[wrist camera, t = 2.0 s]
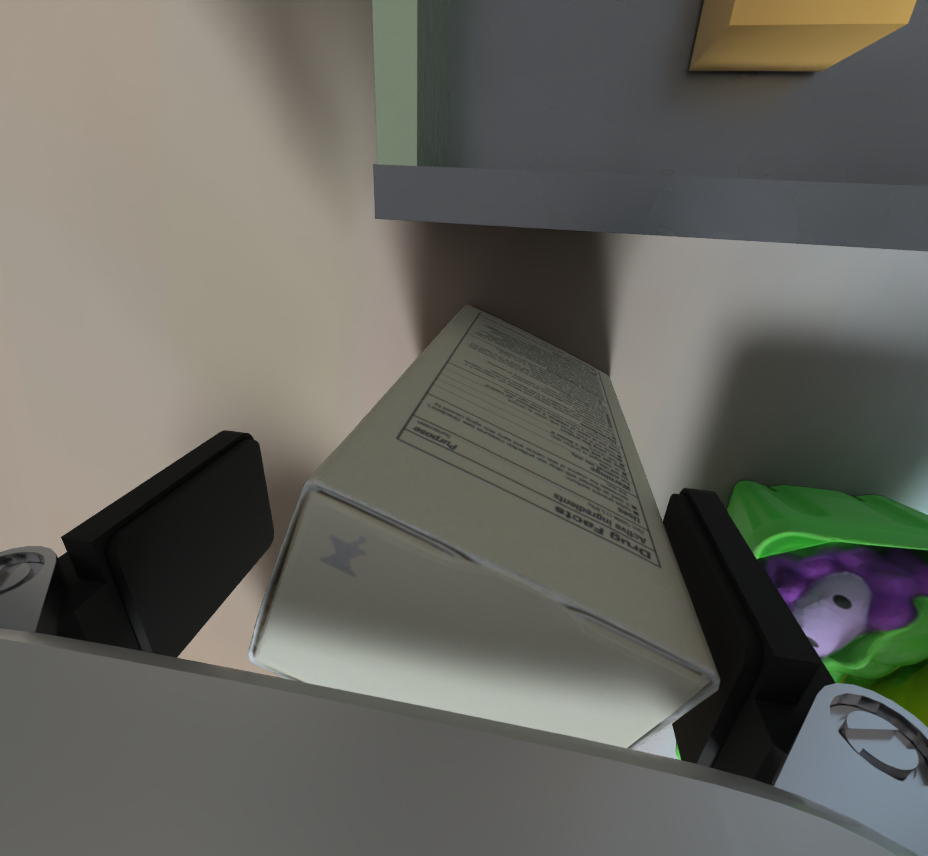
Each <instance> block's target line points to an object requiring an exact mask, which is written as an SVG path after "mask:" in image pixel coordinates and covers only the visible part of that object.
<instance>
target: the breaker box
mask: <svg viewBox="0 0 928 856" xmlns="http://www.w3.org/2000/svg"><path fill="white" fill-rule="evenodd" d="M703 4H704V0H372V14H373V45H374V77H375V109H376V141H377V164H373V169H374V198H375V219H389V220H406V221H423V222H440V223H457V224H474V225H491V226H508V227H525V228H542V229H559V230H575V231H592V232H609V233H626V234H643V235H660V236H677V237H694V238H711V239H728V240H745V241H762V242H779V243H796V244H813V245H830V246H847V247H864V248H881V249H898V250H915V251H928V0H917V1H916V4H915V6H914V9H913V12H912V14H911V17H910V20H909V22H908V24H906V25H905V26H903V27H901V28H899V29H897V30H896V31H894V32H892V33H890V34H888V35H887V36H885V37H883V38H881V39H879V40H877V41H876V42H874V43H872V44H870V45H868V46H867V47H865V48H863V49H861V50H859V51H858V52H856V53H854V54H852V55H850V56H849V57H847V58H845V59H843V60H841V61H840V62H838V63H836V64H834V65H832V66H831V67H829V68H827V69H825V70H823V71H689V69H690V64H691V59H692V55H693V50H694V45H695V41H696V36H697V32H698V27H699V22H700V18H701V13H702V8H703Z"/></svg>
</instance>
